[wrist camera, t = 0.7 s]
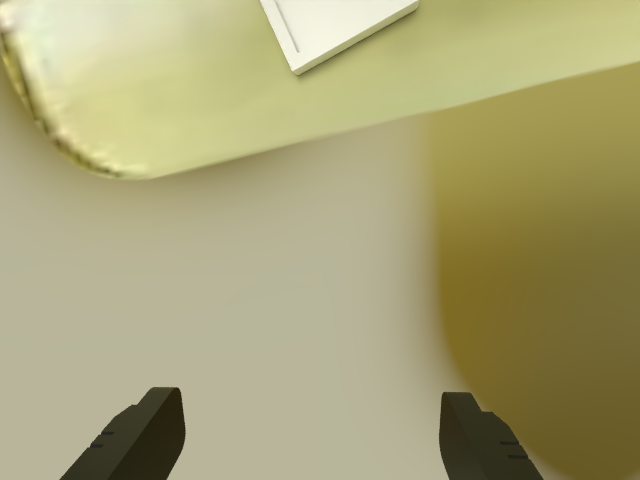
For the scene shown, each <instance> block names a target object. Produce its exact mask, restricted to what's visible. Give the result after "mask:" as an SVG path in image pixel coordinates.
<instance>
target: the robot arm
mask: <svg viewBox="0 0 640 480" xmlns="http://www.w3.org/2000/svg"><path fill="white" fill-rule="evenodd" d="M184 441H185V422H184V414H183V406H182V398H181V392H180V389H179V388H177V387H176V388H174V387H170V388H169V387H153V388H151V389H150V390H149V391H148V392H147V393H146V395H145V396H144V397H143V398H142V399H141V401H140V402H139V403H138V404H137V405H131V406H130V407H128V408H127V409H126V410H124V411H123V412H121V413H120V414H118V415H117V416H115V417H114V418H113V419H112V420H111V422H110V423H109V424H108V425H107V426H106V427H105V428H104V430H103V431H102V433H101V435H98V437H96V439H95V440H94V441H93V442H92V443H91V446H90V448H87V449H86V450H85V451H84V452H83V453H82V455H81V456H80V457H79V458H78V459H77V460H76V461H75V463H74V464H73V465H72V466H71V467H70V468H69V469H68V471H67V472H66V473H65V474H64V475H63V476H62V478H61V479H60V480H166V479H167V478H168V476H169V474H170V472H171V470H172V468H173V467H174V465H175V463H176V461H177V459H178V457H179V455H180V454H181V451H182V449H183V445H184ZM439 444H440V451H441V456H442V459H443V463H444V466H445V469H446V472H447V474H448V477H449V480H543V478H542V476H541V475H540V473H539V472H538V470H537V469H536V467H535V466H534V464H533V463H532V461H531V460H530V459H528V455H527V453H526V452H525V450H524V449H523V447H522V446H521V445H519V441H518V440H517V438H516V437H515V435H514V434H513V432H512V430H511V429H510V427H509V426H508V425H507V424H506V423H505V422H503V421H502V420H501V419H500V418H499V417H497V416H496V415H495V414H494V413H493V412H482V411H481V409H480V407H479V406H478V404H477V402H476V401H475V399H474V397H473V396H472V394H471V393H467V392H444V393H443V394H442V400H441V415H440V430H439Z"/></svg>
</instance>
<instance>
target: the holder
mask: <svg viewBox="0 0 640 480" xmlns="http://www.w3.org/2000/svg"><path fill="white" fill-rule="evenodd" d="M260 2H261V4H262V6H263V8H264V11H265V13H266V15H267V17H268V19H269V22H270V24H271V26H272V28H273V30H274V33H275V35H276V37H277V39H278V41H279V43H280V46H281V48H282V50H283V52H284V54H285V57H286V59H287V61H288V63H289V65H290V68H291V70H292V72H294V73H295V74H296V75H297V76H299V75H301V74H302V73H304V72H306V71H308V70H309V69H311V68H313V67H315V66H317V65H318V64H320V63H322V62H324V61H325V60H327V59H329V58H331V57H333V56H334V55H336V54H338V53H340V52H342V51H343V50H345V49H347V48H349V47H350V46H352V45H354V44H356V43H358V42H359V41H361V40H363V39H365V38H366V37H368V36H370V35H372V34H374V33H375V32H377V31H379V30H381V29H383V28H384V27H386V26H388V25H390V24H391V23H393V22H395V21H397V20H399V19H400V18H402V17H404V16H406V15H407V14H409V13H411V12H413V11H415V10H416V9H417V7H418V5H419V2H420V0H260Z"/></svg>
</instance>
